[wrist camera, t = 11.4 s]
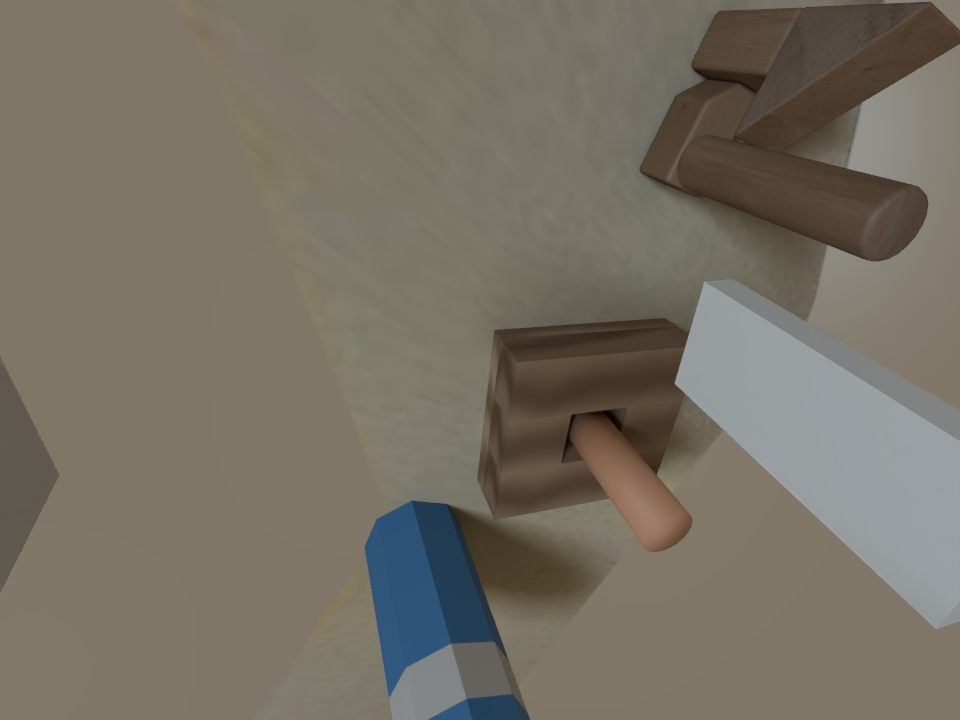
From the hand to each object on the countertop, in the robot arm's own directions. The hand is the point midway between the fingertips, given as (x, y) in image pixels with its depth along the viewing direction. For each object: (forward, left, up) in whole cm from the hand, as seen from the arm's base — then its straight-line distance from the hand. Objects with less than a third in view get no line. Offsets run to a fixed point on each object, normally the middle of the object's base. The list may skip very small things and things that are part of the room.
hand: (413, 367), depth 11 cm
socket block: (+22, +20, -26) cm, 39 cm away
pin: (+22, +20, -24) cm, 38 cm away
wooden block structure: (-3, +25, -26) cm, 36 cm away
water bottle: (+36, +6, -26) cm, 45 cm away
